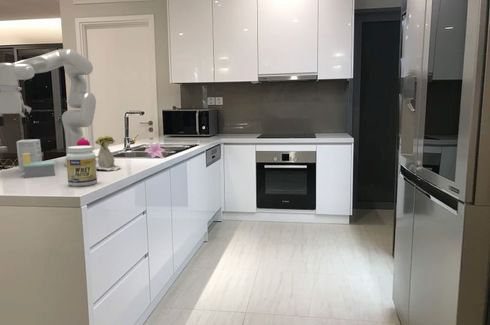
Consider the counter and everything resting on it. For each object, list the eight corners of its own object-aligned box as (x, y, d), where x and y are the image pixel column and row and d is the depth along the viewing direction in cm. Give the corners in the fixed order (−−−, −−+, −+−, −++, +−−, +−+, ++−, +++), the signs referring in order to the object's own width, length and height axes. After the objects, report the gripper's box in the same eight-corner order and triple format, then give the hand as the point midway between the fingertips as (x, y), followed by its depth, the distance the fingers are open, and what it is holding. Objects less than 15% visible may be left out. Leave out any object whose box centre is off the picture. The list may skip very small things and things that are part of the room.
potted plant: (108, 172, 209) (105, 137, 206) (90, 170, 215) (88, 136, 212) (124, 168, 219) (122, 135, 216) (107, 167, 225) (105, 134, 222)
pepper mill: (77, 175, 200) (74, 135, 197) (92, 174, 203) (90, 135, 200) (77, 178, 194) (74, 137, 190) (93, 176, 196) (90, 136, 193)
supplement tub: (68, 188, 172) (65, 149, 170) (68, 182, 183) (65, 145, 181) (98, 185, 177) (95, 147, 174) (96, 180, 188) (94, 144, 185)
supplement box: (43, 169, 218) (40, 139, 215) (39, 172, 209) (36, 140, 206) (24, 170, 215) (21, 139, 213) (18, 173, 206) (15, 141, 204)
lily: (142, 159, 258) (144, 147, 253) (148, 150, 268) (150, 138, 262) (160, 165, 258) (162, 153, 253) (165, 155, 268) (167, 144, 263)
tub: (54, 173, 205) (53, 162, 204) (55, 176, 197) (54, 164, 196) (25, 176, 199) (24, 164, 198) (25, 179, 191) (23, 167, 190)
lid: (54, 164, 204) (52, 151, 203) (54, 167, 196) (53, 153, 195) (24, 166, 198) (22, 152, 197) (23, 169, 190) (22, 155, 189)
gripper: (31, 89, 196) (34, 124, 198) (-8, 89, 192) (-4, 125, 195) (26, 89, 188) (30, 125, 191) (-14, 89, 185) (-10, 126, 188)
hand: (13, 125), depth 193 cm, fingers open, 9 cm apart
